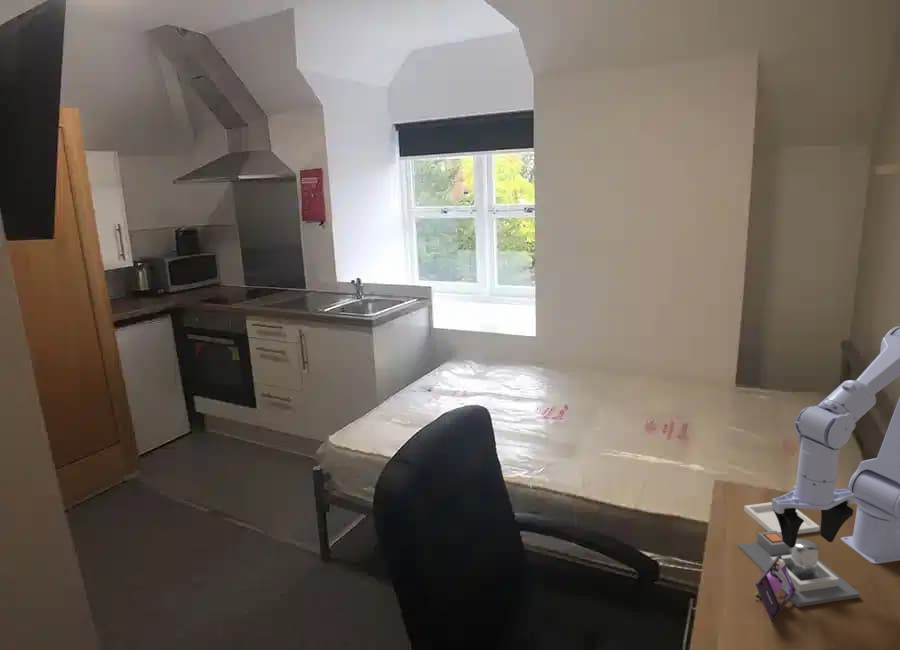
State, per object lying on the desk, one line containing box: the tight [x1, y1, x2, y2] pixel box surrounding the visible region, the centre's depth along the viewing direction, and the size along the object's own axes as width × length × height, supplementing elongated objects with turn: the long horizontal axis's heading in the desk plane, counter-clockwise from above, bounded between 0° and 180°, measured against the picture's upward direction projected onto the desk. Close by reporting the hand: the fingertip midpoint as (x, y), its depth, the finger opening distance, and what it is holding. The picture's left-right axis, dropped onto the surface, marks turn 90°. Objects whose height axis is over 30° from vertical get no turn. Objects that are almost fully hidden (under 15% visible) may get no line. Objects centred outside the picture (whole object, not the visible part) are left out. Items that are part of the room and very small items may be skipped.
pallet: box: [737, 531, 861, 608], centre depth 108 cm, size 12×16×3 cm
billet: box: [790, 538, 820, 581], centre depth 106 cm, size 4×4×6 cm
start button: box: [765, 533, 783, 543], centre depth 114 cm, size 2×2×2 cm
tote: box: [743, 501, 821, 535], centre depth 123 cm, size 10×10×1 cm
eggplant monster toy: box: [754, 556, 795, 622], centre depth 101 cm, size 7×5×9 cm
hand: (807, 541), depth 104 cm, fingers open, 7 cm apart
